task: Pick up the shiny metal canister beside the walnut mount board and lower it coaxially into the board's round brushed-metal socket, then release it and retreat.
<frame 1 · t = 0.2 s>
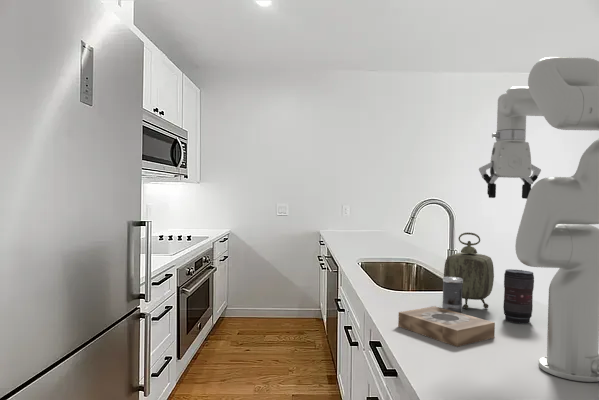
hand: (508, 198, 133), 37 cm above the worktop, tool pointing down, fingers open, 9 cm apart
camera lens: (517, 321, 141), on the worktop
shiny metal canister: (451, 317, 143), on the worktop
mount board: (444, 331, 128), on the worktop
tabletop clock: (467, 308, 156), on the worktop
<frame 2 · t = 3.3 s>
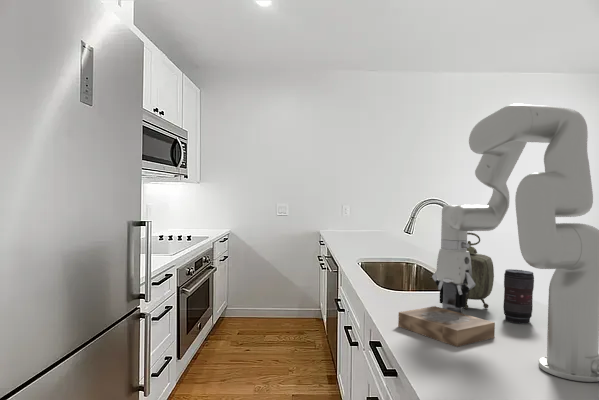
hand: (452, 304, 143), 4 cm above the worktop, tool pointing down, fingers closed on shiny metal canister, 5 cm apart
shiny metal canister: (451, 317, 143), on the worktop, touching gripper
everything else where it was.
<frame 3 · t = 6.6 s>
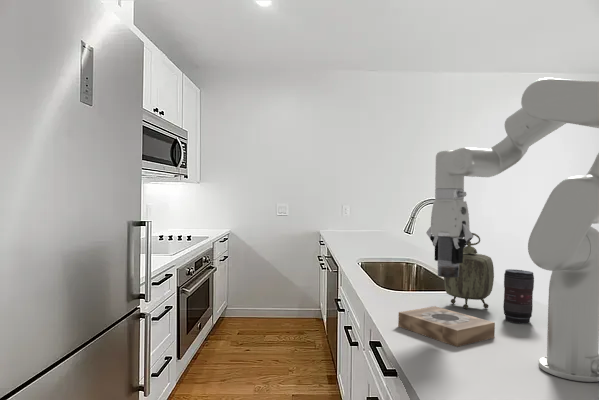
hand: (448, 261, 129), 19 cm above the worktop, tool pointing down, fingers closed on shiny metal canister, 5 cm apart
shiny metal canister: (448, 275, 129), point 15 cm above the worktop, touching gripper
everything else where it was.
when the fingers open (5 cm above the worktop, at t = 9.9 s): shiny metal canister drops 1 cm, resting in mount board.
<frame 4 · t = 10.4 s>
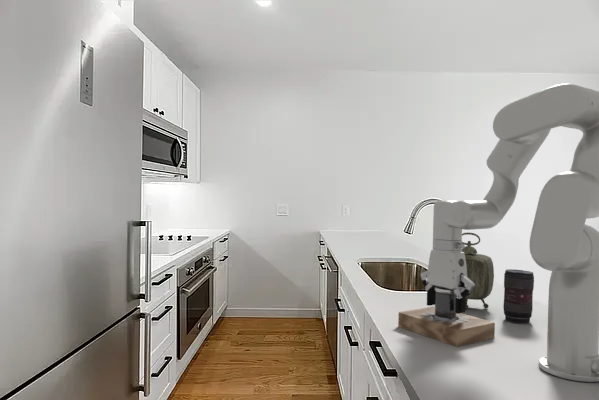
hand: (445, 308, 128), 6 cm above the worktop, tool pointing down, fingers open, 9 cm apart
shiny metal canister: (445, 332, 128), resting in mount board
everything else where it was.
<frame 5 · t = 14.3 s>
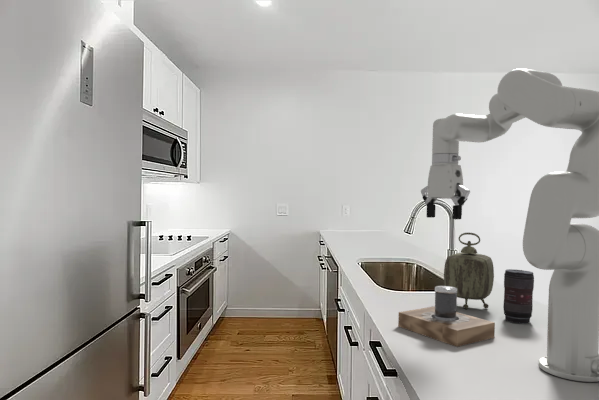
hand: (443, 218, 140), 30 cm above the worktop, tool pointing down, fingers open, 9 cm apart
nothing on the worktop moved.
at the end: shiny metal canister 0.1 cm off-centre on the mount board, point 0.0 cm above the mount board's base; shiny metal canister tilted 0°; the gripper is holding nothing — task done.
